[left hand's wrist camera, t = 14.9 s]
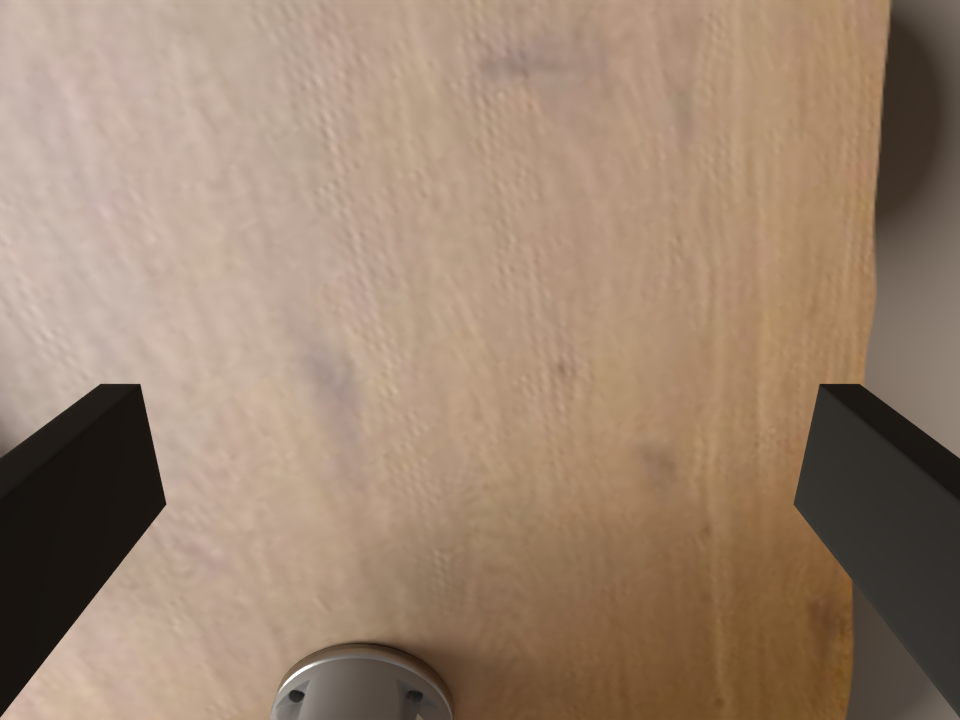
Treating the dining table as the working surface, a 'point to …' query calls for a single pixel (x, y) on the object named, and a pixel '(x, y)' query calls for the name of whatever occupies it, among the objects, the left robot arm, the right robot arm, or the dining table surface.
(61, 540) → the left robot arm
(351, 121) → the dining table surface
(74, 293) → the dining table surface
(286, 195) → the dining table surface
